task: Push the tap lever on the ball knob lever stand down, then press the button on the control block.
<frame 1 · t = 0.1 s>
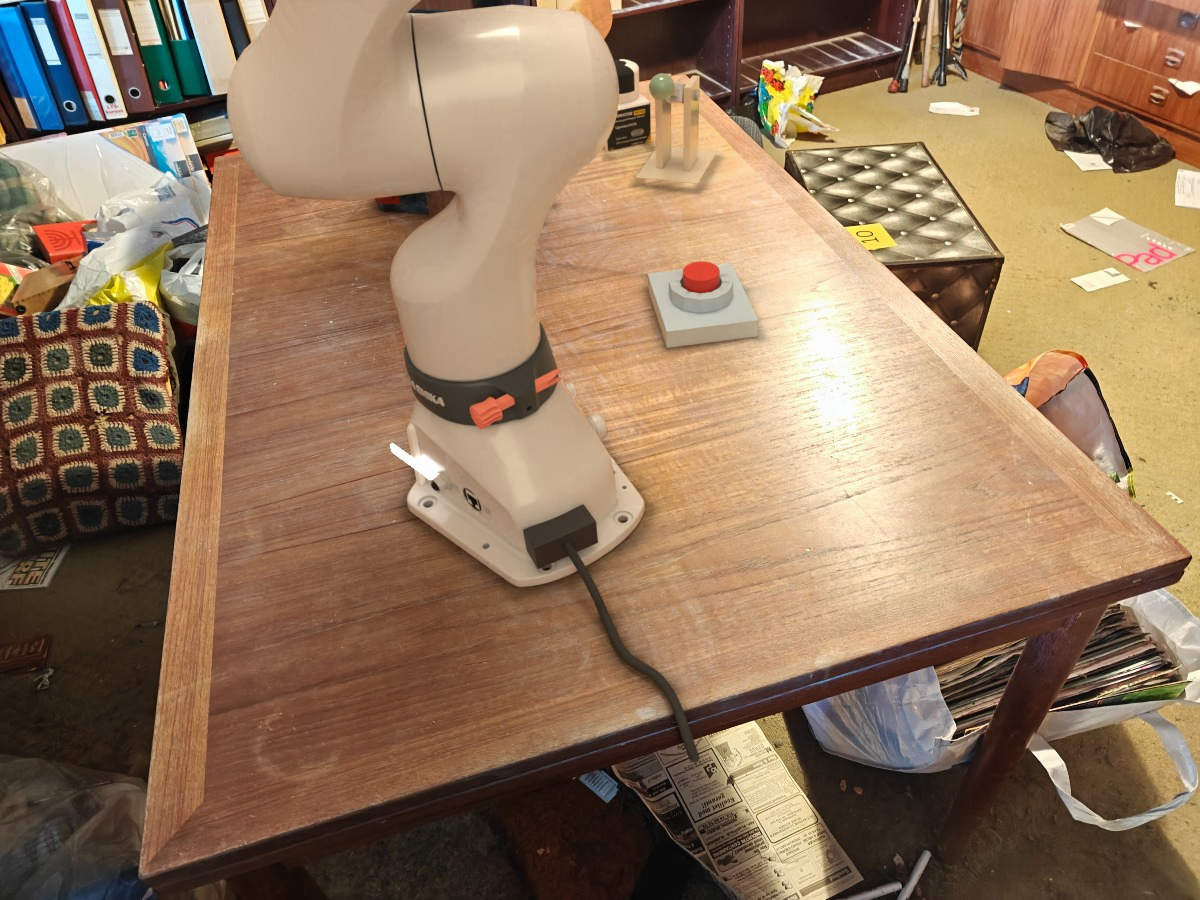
book: (459, 208, 120), on the table
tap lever: (669, 90, 112), point 13 cm above the table, hinge at 26.0°
control block: (700, 312, 97), on the table
button: (701, 277, 94), point 4 cm above the table, slide at 0.1 cm
medicine bottle: (621, 145, 132), on the table
candle: (466, 255, 110), on the table
ball knob lever stand: (677, 171, 124), on the table
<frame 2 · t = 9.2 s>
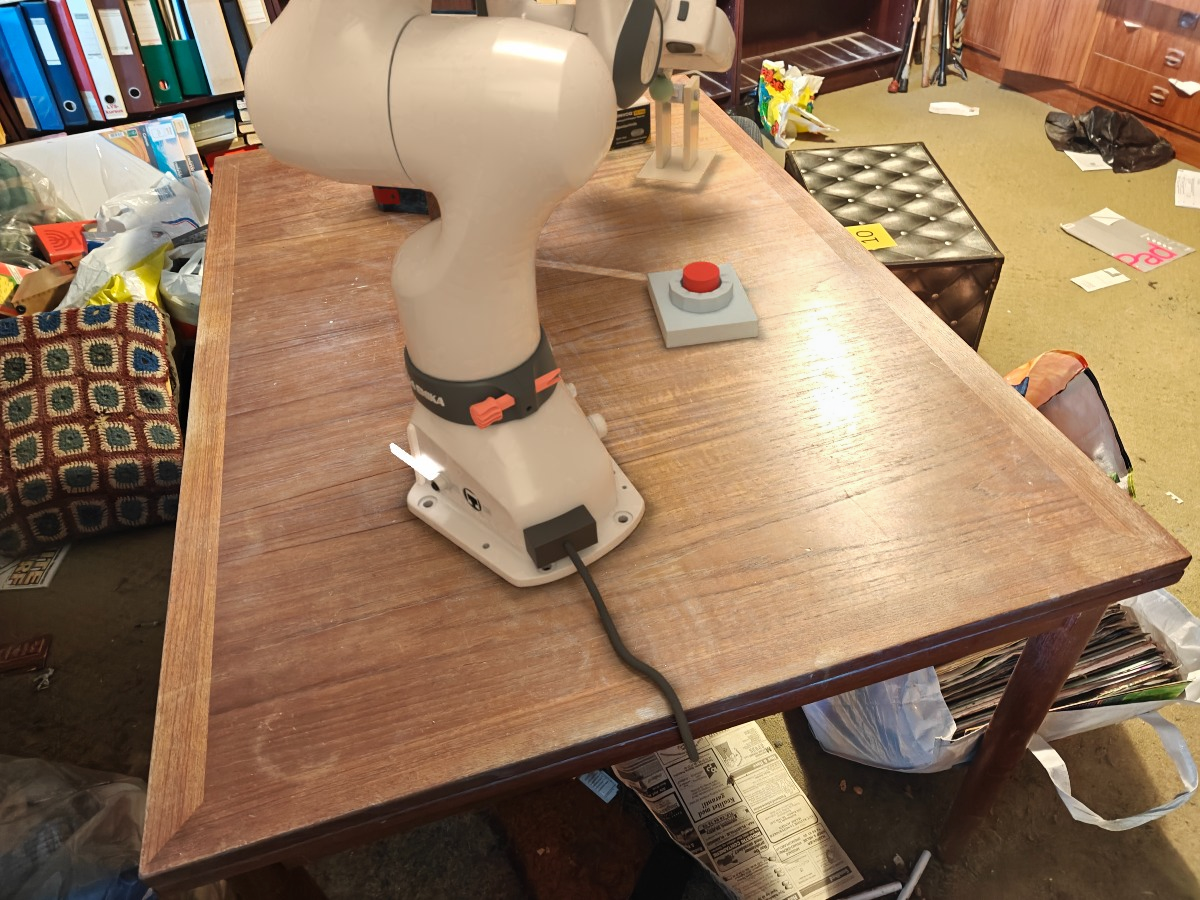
hand: (661, 72, 108), 16 cm above the table, tool tilted 45°, fingers closed, pressing on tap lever
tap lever: (669, 91, 112), point 13 cm above the table, hinge at 24.1°, touching gripper
everything else where it was.
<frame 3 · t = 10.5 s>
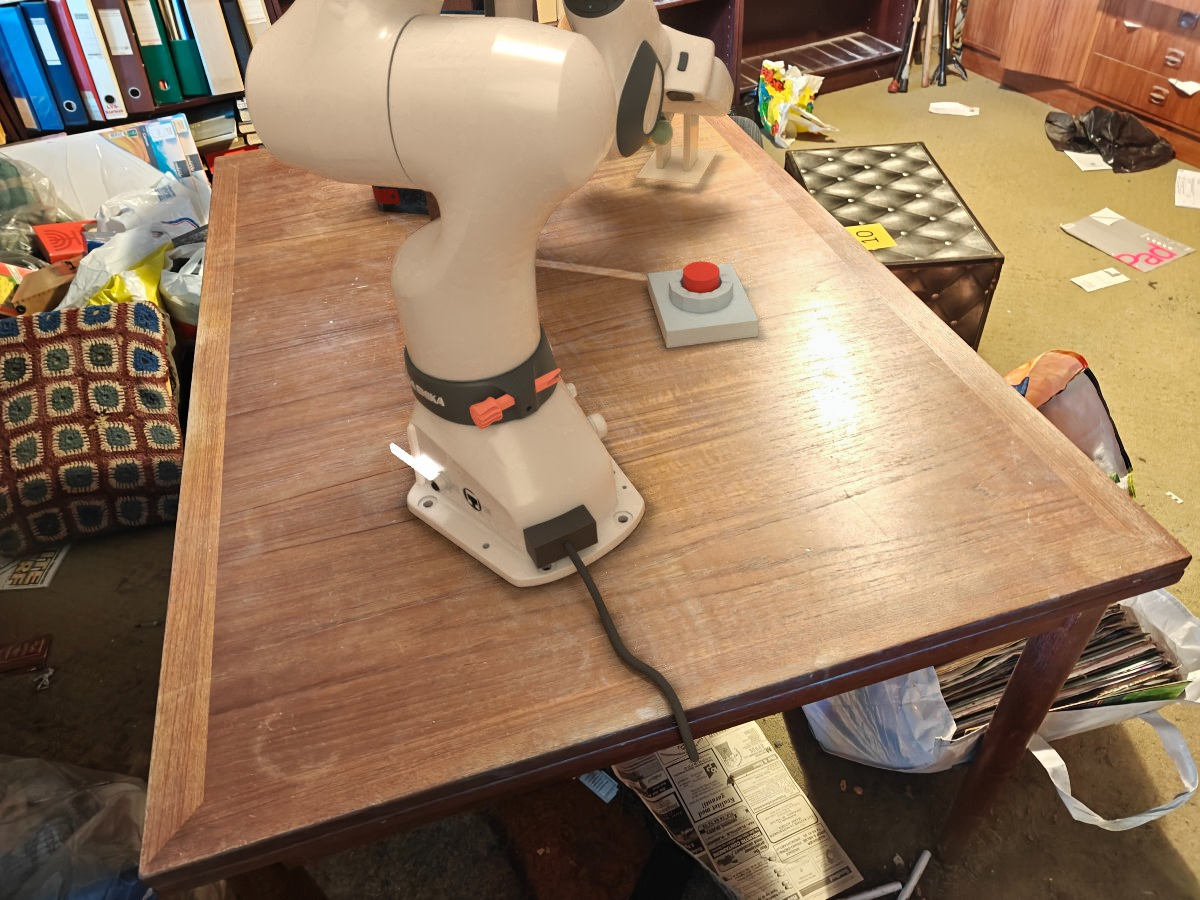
hand: (661, 114, 111), 11 cm above the table, tool tilted 45°, fingers closed, pressing on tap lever
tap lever: (669, 113, 114), point 10 cm above the table, hinge at -16.2°, touching gripper
everything else where it was.
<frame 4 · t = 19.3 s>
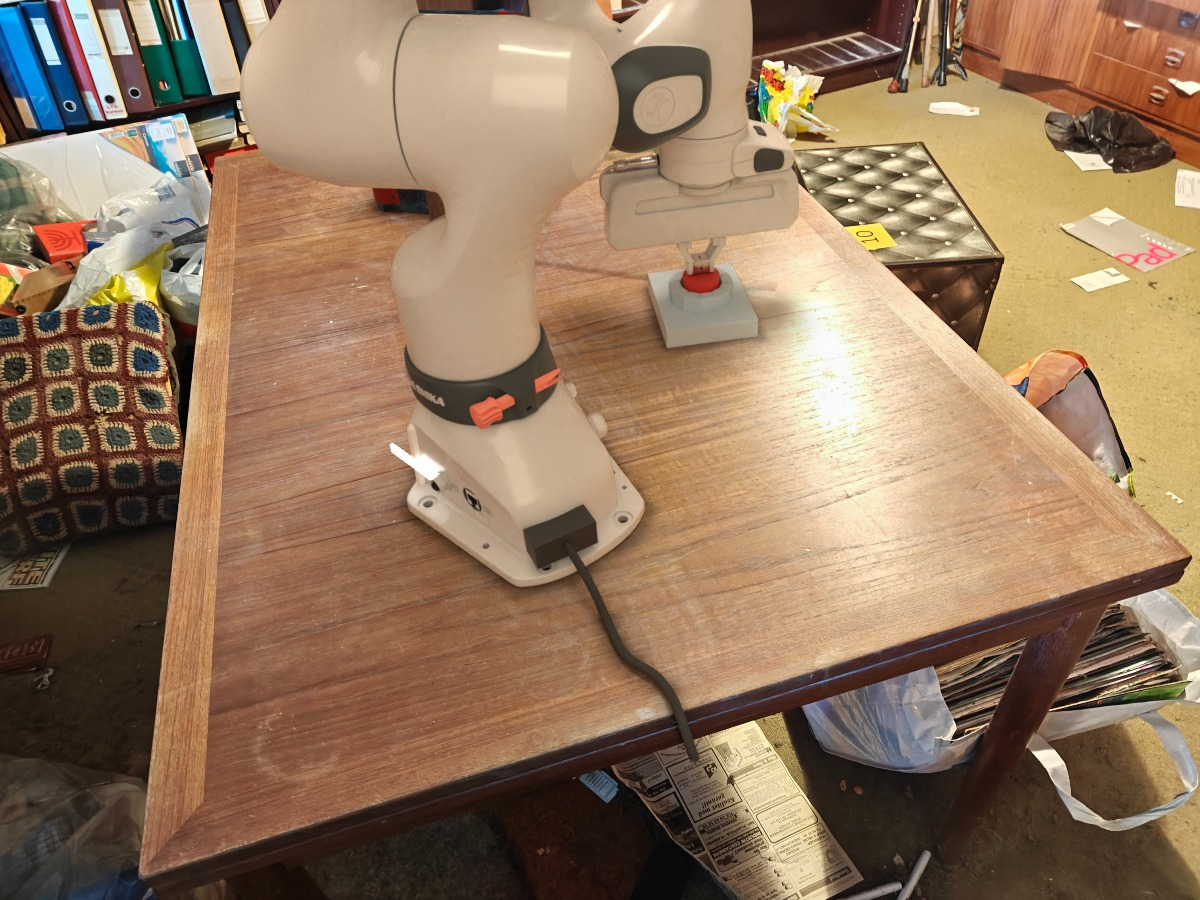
hand: (699, 271, 94), 5 cm above the table, tool pointing down, fingers closed, pressing on button
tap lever: (670, 119, 115), point 9 cm above the table, hinge at -30.8°
button: (701, 280, 94), point 4 cm above the table, slide at -0.3 cm, touching gripper
everything else where it was.
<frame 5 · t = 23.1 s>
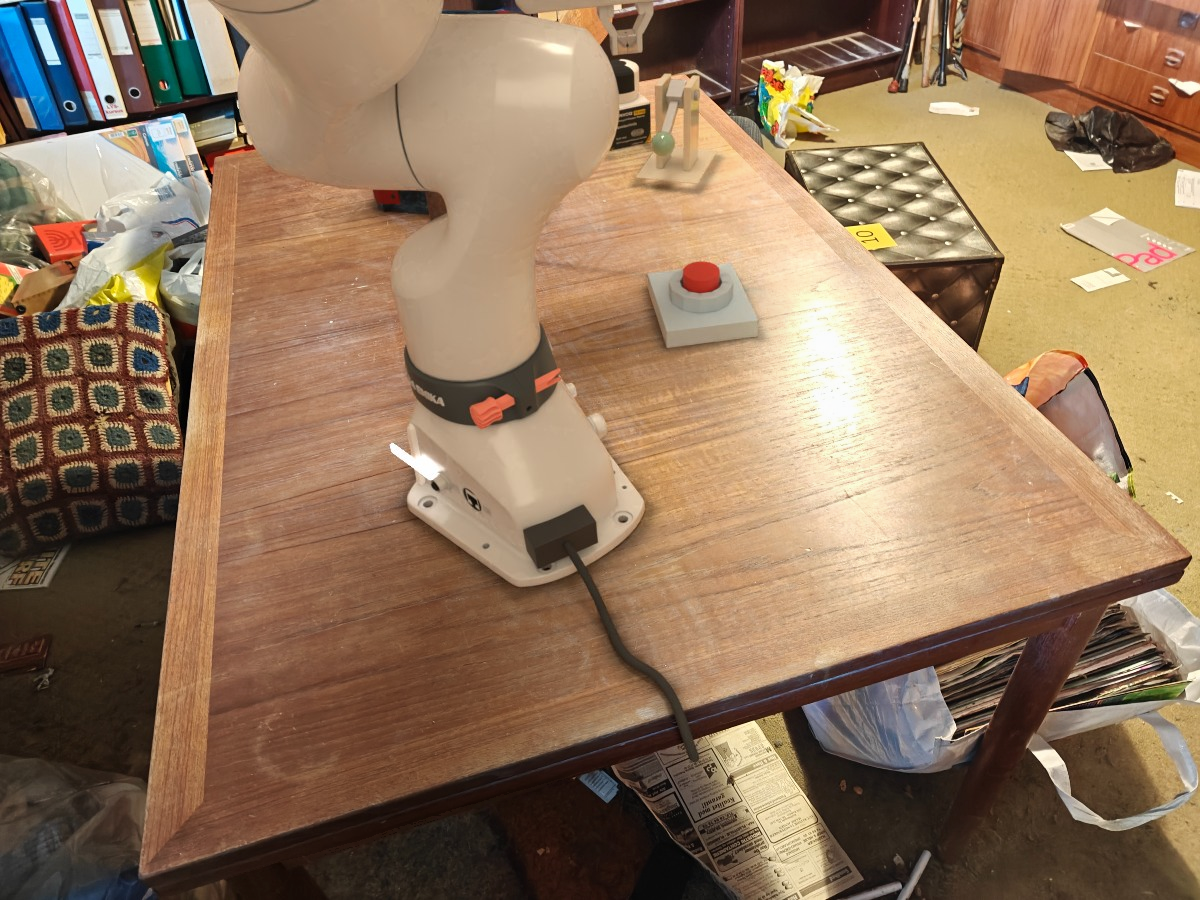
hand: (626, 52, 82), 27 cm above the table, tool pointing down, fingers closed
button: (701, 277, 94), point 4 cm above the table, slide at 0.1 cm
everything else where it was.
at the end: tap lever at -31° (first picture: +26°); button pushed in 1.1 cm at the most during the clip, back to where it started at the end; button slide at 0.1 cm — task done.
